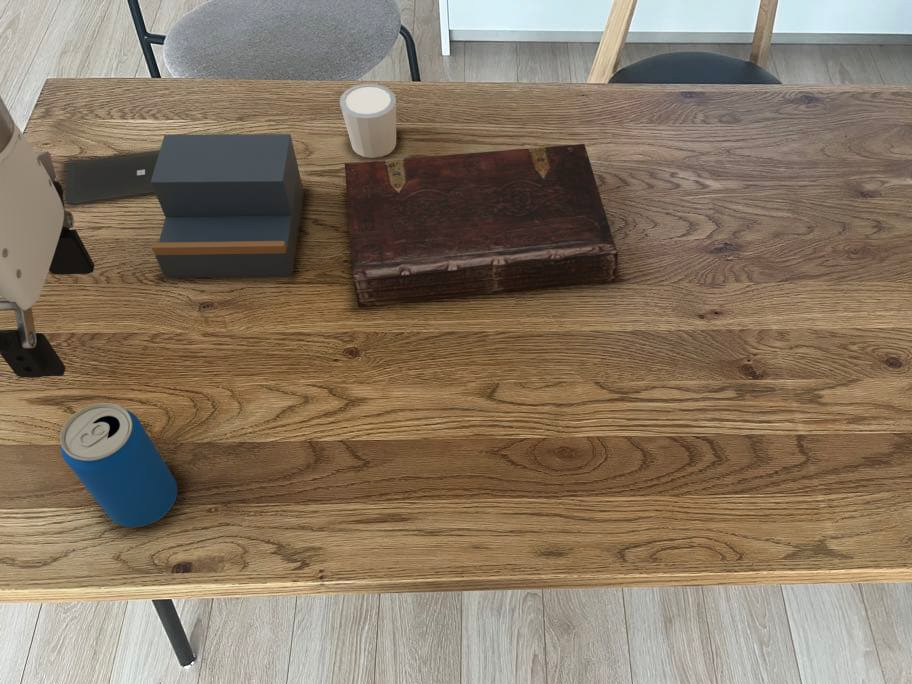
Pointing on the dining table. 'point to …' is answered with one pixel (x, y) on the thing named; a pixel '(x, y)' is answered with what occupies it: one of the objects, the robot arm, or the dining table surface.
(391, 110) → the white cylinder
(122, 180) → the smartphone
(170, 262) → the step shelf
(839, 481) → the dining table surface
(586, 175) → the hardback book
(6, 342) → the robot arm
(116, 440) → the beverage can
